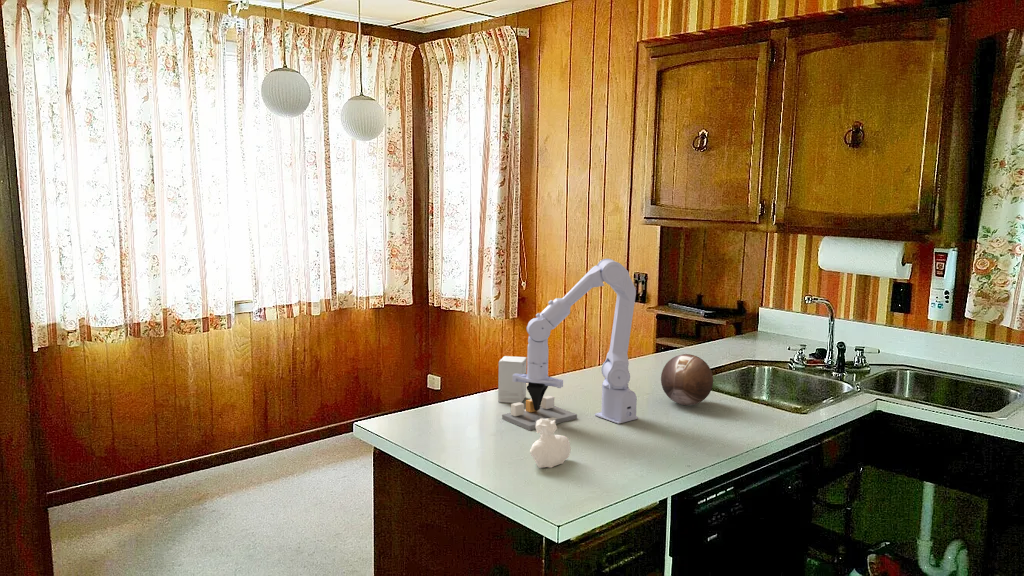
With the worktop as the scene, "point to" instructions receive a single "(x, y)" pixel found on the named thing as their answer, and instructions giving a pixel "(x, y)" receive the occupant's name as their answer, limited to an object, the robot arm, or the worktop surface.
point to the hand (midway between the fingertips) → (537, 409)
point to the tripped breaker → (530, 406)
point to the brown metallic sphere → (687, 379)
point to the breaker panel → (537, 414)
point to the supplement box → (506, 387)
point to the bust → (549, 445)
